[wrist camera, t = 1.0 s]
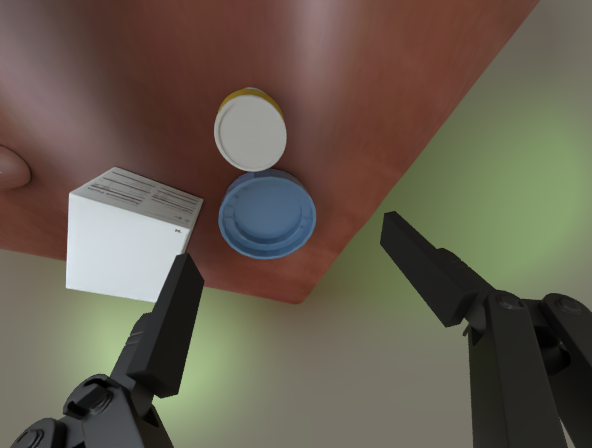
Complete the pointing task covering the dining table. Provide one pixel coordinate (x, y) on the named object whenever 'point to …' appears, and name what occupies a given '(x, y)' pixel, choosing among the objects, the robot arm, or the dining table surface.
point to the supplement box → (126, 234)
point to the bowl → (266, 214)
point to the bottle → (250, 130)
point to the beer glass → (12, 170)
